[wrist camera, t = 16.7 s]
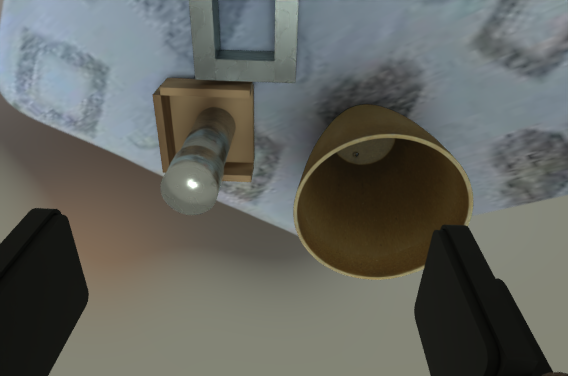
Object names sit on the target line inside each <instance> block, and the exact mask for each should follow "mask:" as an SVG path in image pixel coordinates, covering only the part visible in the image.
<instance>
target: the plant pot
mask: <svg viewBox="0 0 568 376" xmlns="http://www.w3.org/2000/svg"><path fill="white" fill-rule="evenodd" d="M356 153H358V155H357V156H355V155H356ZM472 211H473V192H472V187H471V184H470V181H469V178H468V176H467V174H466V172H465V171H464V169H463V168H462V166H461V165H460V164H459V162H458V161H457V160H456V159H455V158H454V157H453V156H452V155H451V153H450V152H449V151H448V150H447V149H446V148H445V147H444V146H443V145H442V144H441V143H439V142H438V141H437V140H436V139H435V138H434V137H433V136H432V135H430V134H429V133H428V132H427V131H426V130H424V129H423V128H422V127H420V126H419V125H417V124H416V123H415V122H413V121H411V120H410V119H408V118H407V117H405V116H403V115H401V114H399V113H397V112H395V111H393V110H390V109H387V108H384V107H381V106H377V105H370V104H363V105H357V106H354V107H351V108H349V109H347V110H345V111H344V112H342V113H341V114H340V115H339V116H337V117H336V118H335V119H334V120H333V121H332V122H331V124H330V125H329V126H328V127H327V128H326V130H325V131H324V132H323V134H322V135H321V137H320V138H319V140H318V141H317V143H316V145H315V147H314V149H313V150H312V152H311V155H310V157H309V159H308V161H307V164H306V166H305V169H304V172H303V175H302V178H301V181H300V184H299V187H298V190H297V193H296V197H295V201H294V211H293V216H294V223H295V228H296V231H297V233H298V236H299V238H300V240H301V242H302V243H303V245H304V246H305V248H306V249H307V251H308V252H309V253H310V254H311V255H312V256H313V257H314V258H316V260H318V261H319V262H320V263H322V264H323V265H325V266H326V267H328V268H330V269H332V270H334V271H336V272H338V273H341V274H344V275H347V276H351V277H355V278H362V279H372V280H377V279H378V280H380V279H390V278H397V277H401V276H405V275H408V274H411V273H414V272H417V271H420V270H422V269H424V266H425V262H426V258H427V254H428V250H429V246H430V242H431V238H432V234H433V232H434V230H440V228H441V227H442V225H444V224H446V225H466V226H468V225H469V222H470V219H471V216H472Z"/></svg>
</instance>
